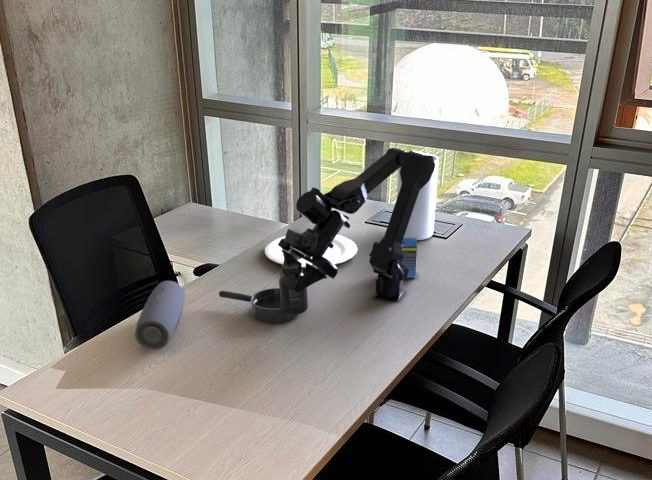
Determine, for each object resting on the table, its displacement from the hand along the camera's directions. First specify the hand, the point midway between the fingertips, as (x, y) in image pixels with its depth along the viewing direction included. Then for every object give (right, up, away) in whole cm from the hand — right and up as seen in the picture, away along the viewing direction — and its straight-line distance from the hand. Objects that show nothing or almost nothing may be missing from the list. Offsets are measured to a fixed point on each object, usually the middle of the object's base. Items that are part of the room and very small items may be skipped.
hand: (288, 286), depth 176 cm
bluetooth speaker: (-32, -11, +9) cm, 35 cm away
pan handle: (-14, -1, +19) cm, 24 cm away
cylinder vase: (+40, +25, +63) cm, 79 cm away
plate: (+6, +16, +51) cm, 54 cm away
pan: (-4, -5, +17) cm, 18 cm away
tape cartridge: (+32, +7, +35) cm, 48 cm away
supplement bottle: (+1, -5, +4) cm, 7 cm away
